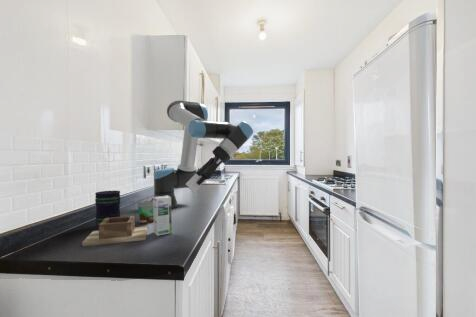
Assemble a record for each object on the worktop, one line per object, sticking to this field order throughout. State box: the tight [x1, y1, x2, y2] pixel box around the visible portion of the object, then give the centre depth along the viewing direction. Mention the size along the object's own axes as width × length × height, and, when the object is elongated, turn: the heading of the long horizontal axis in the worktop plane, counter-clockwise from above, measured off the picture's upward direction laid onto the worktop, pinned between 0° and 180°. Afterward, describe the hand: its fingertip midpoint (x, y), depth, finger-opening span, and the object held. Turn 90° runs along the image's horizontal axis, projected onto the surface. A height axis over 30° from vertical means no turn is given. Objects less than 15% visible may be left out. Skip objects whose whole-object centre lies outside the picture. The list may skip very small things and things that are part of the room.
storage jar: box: [94, 190, 122, 230], centre depth 108 cm, size 10×10×15 cm
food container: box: [137, 197, 154, 225], centre depth 114 cm, size 12×6×10 cm, turn 168°
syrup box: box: [152, 196, 173, 237], centre depth 96 cm, size 6×6×14 cm
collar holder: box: [81, 215, 148, 247], centre depth 92 cm, size 13×20×6 cm, turn 107°
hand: (189, 188), depth 99 cm, fingers open, 13 cm apart
